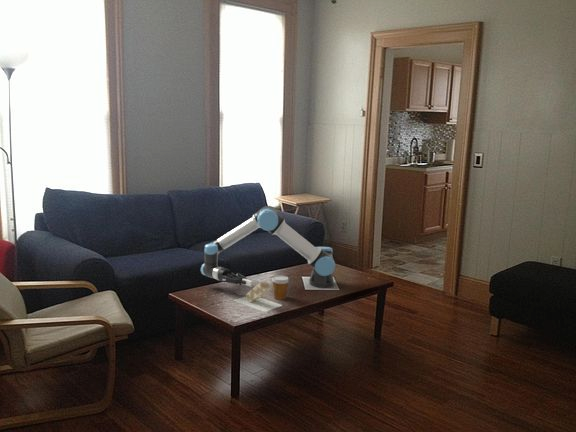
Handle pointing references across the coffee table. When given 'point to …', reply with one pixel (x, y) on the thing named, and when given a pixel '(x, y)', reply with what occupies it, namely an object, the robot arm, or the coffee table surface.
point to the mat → (258, 303)
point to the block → (258, 291)
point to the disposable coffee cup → (280, 287)
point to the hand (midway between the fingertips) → (251, 283)
